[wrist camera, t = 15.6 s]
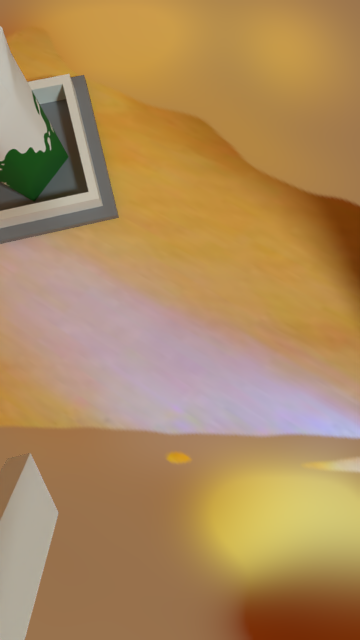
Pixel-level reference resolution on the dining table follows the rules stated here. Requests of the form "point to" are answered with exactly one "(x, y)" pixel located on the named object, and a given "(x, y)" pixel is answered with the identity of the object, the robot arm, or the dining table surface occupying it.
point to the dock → (63, 168)
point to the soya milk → (24, 133)
